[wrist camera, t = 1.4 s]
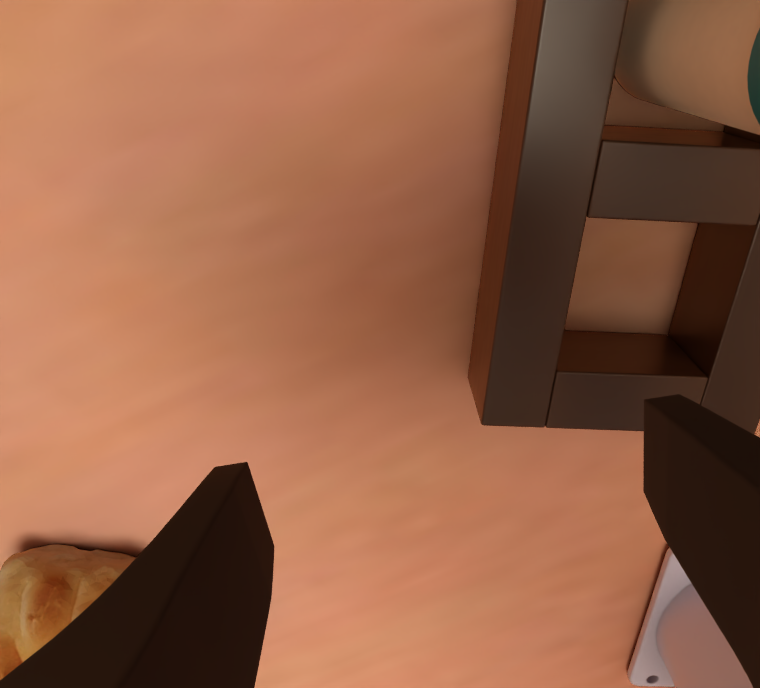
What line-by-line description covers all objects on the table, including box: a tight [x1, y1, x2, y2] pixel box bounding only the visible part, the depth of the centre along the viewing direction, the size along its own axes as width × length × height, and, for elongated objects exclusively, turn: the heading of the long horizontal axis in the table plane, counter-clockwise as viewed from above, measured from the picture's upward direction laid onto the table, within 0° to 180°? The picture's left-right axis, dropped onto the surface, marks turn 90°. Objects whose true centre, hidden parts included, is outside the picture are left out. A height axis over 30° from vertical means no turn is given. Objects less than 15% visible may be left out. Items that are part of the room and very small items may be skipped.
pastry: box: [0, 545, 137, 680], centre depth 26 cm, size 9×7×4 cm
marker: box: [614, 0, 760, 135], centre depth 14 cm, size 3×4×9 cm
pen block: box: [468, 0, 760, 434], centre depth 19 cm, size 9×15×3 cm, turn 177°
